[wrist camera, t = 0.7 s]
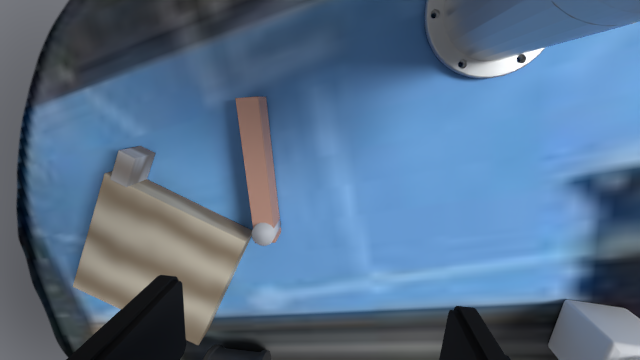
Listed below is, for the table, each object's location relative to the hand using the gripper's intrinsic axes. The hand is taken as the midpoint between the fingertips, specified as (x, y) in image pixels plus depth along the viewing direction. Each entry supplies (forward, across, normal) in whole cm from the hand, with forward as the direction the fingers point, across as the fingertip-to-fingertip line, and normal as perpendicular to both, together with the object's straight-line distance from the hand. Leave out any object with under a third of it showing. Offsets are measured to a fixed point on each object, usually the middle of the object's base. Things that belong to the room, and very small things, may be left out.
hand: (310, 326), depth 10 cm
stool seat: (+26, +21, +11) cm, 35 cm away
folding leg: (+25, +8, +1) cm, 27 cm away
